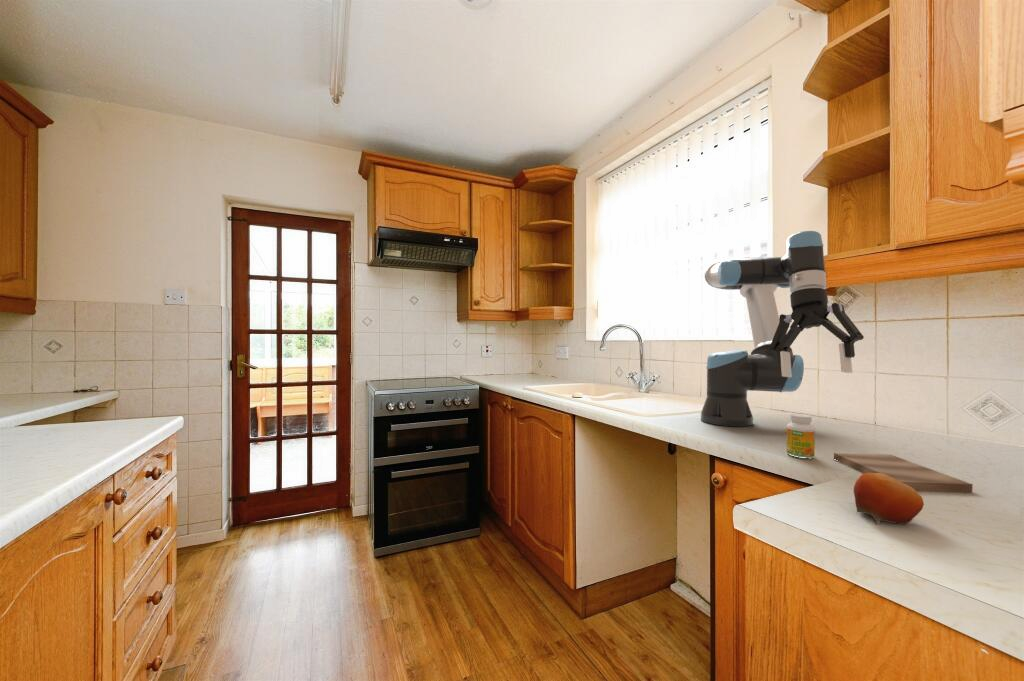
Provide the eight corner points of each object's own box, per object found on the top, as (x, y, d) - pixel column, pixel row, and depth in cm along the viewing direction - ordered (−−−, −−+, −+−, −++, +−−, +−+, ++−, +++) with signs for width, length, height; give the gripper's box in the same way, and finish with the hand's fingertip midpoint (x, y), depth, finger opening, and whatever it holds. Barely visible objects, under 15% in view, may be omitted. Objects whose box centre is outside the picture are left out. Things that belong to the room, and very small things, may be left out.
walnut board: (833, 459, 92) (833, 453, 92) (890, 461, 91) (890, 454, 91) (899, 489, 75) (899, 481, 75) (972, 492, 73) (972, 484, 73)
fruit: (828, 499, 67) (852, 458, 67) (866, 523, 67) (890, 481, 67) (875, 522, 59) (903, 475, 59) (918, 548, 59) (945, 501, 59)
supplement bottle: (788, 457, 94) (788, 416, 94) (785, 451, 99) (785, 412, 99) (816, 461, 91) (817, 418, 91) (812, 454, 96) (812, 414, 96)
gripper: (752, 301, 112) (756, 376, 108) (856, 273, 89) (866, 367, 85) (770, 305, 115) (775, 379, 110) (876, 279, 92) (887, 371, 88)
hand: (814, 374), depth 98 cm, fingers open, 13 cm apart
